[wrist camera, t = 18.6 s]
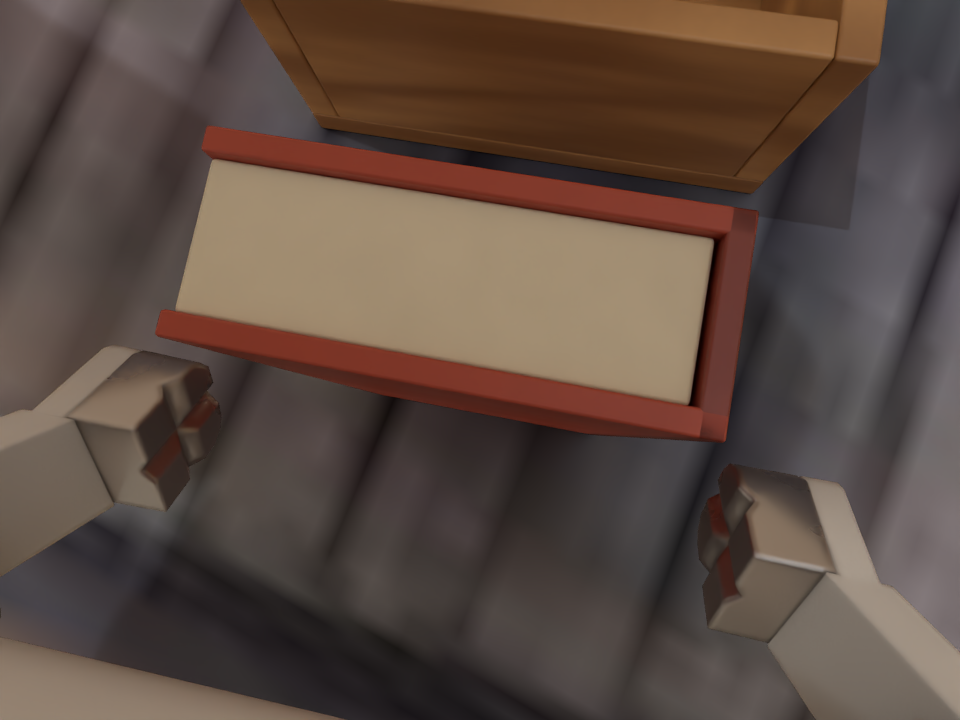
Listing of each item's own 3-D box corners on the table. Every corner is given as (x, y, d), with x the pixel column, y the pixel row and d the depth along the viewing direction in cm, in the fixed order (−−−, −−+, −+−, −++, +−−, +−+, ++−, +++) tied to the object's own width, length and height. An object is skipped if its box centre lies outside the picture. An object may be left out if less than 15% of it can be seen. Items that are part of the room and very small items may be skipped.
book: (593, 434, 16) (727, 444, 6) (379, 394, 17) (152, 335, 6) (608, 348, 16) (760, 209, 6) (397, 311, 17) (206, 124, 7)
